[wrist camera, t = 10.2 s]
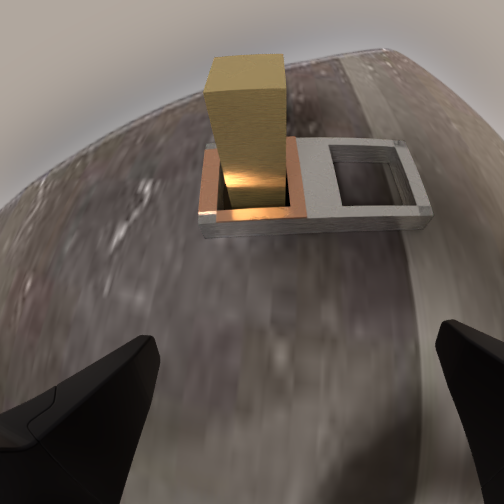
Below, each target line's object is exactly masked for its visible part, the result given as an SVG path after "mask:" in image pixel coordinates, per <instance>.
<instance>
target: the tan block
mask: <svg viewBox="0 0 504 504" xmlns="http://www.w3.org/2000/svg"><path fill="white" fill-rule="evenodd" d="M203 94H204V98H205V102H206V106H207V110H208V114H209V118H210V122H211V126H212V130H213V134H214V138H215V142H216V146H217V150H218V154H219V158H220V162H221V166H222V170H223V174H224V178H225V182H226V186H227V190H228V194H229V198H230V202H231V206H232V210H236V209H253V208H271V207H285V188H286V80H285V68H284V58H283V54H256V55H238V56H225V57H215V58H214V61H213V64H212V66H211V69H210V72H209V76H208V79H207V82H206V85H205V88H204V91H203Z"/></svg>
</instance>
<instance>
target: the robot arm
mask: <svg viewBox="0 0 504 504" xmlns="http://www.w3.org/2000/svg"><path fill="white" fill-rule="evenodd" d="M435 347H436V351H437V354H438V357H439V360H440V363H441V366H442V370H443V373H444V376H445V379H446V382H447V386H448V388H449V391H450V393H451V396H452V398H453V401H454V403H455V406H456V409H457V411H458V414H459V417H460V419H461V422H462V425H463V428H464V431H465V434H466V437H467V440H468V443H469V446H470V449H471V452H472V456H473V459H474V463H475V466H476V470H477V473H478V477H479V481H480V485H481V487H482V488H481V490H482V494H483V499H484V504H504V342H502V341H500V340H498V339H495V338H493V337H491V336H489V335H487V334H485V333H482V332H480V331H478V330H476V329H474V328H472V327H469V326H467V325H465V324H463V323H461V322H458V321H456V320H454V319H451V320H446V321H443V322H442V323H441V326H440V329H439V332H438V336H437V339H436V343H435ZM159 366H160V355H159V352H158V348H157V345H156V342H155V339H154V337H153V336H150V335H140V336H138V337H136V338H135V339H133V340H131V341H130V342H128V343H126V344H125V345H123V346H121V347H120V348H118V349H116V350H115V351H113V352H111V353H110V354H108V355H106V356H105V357H103V358H101V359H100V360H98V361H96V362H95V363H93V364H91V365H90V366H88V367H86V368H85V369H83V370H81V371H80V372H78V373H76V374H74V375H73V376H71V377H69V378H68V379H66V380H64V381H63V382H61V383H59V384H58V385H57V386H54V387H52V388H51V389H49V390H47V391H46V392H44V393H42V394H40V395H38V396H37V397H35V398H33V399H31V400H29V401H27V402H25V403H23V404H21V405H18V406H16V407H14V408H12V409H10V410H8V411H5V412H3V413H1V414H0V504H120V501H121V497H122V494H123V490H124V487H125V483H126V480H127V477H128V474H129V470H130V467H131V464H132V461H133V457H134V454H135V451H136V448H137V445H138V442H139V439H140V436H141V433H142V429H143V426H144V423H145V420H146V418H147V415H148V412H149V409H150V405H151V402H152V398H153V393H154V388H155V384H156V379H157V375H158V370H159Z"/></svg>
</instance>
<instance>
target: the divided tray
mask: <svg viewBox="0 0 504 504" xmlns="http://www.w3.org/2000/svg"><path fill="white" fill-rule="evenodd" d="M333 162H374V163H389V165H390V168H391V171H392V174H393V176H394V179H395V182H396V185H397V188H398V191H399V194H400V197H401V201H402V204H403V206H342V202H341V197H340V193H339V188H338V184H337V179H336V175H335V170H334V166H333ZM286 170H287V179H288V188H289V198H290V207H271V208H253V209H236V210H223V201H224V180H225V178H224V174H223V170H222V166H221V162H220V158H219V154H218V150H217V146H216V143H210V144H206V150H205V154H204V162H203V171H202V180H201V190H200V200H199V210H198V213H199V218H198V225H199V227H200V229H201V232H202V234H203V236H204V238H205V239H207V238H225V237H244V236H263V235H284V234H306V233H330V232H356V231H385V230H419V229H424V228H425V227H426V225H427V224H428V223H429V222H430V220H431V219H432V218H433V216H434V214H433V211H432V208H431V205H430V202H429V199H428V196H427V194H426V191H425V188H424V185H423V183H422V180H421V178H420V175H419V173H418V170H417V168H416V165H415V163H414V161H413V158H412V156H411V154H410V151H409V149H408V147H407V145H406V143H405V141H400V140H386V139H367V138H325V137H320V138H296V137H295V136H290V137H286Z"/></svg>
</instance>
